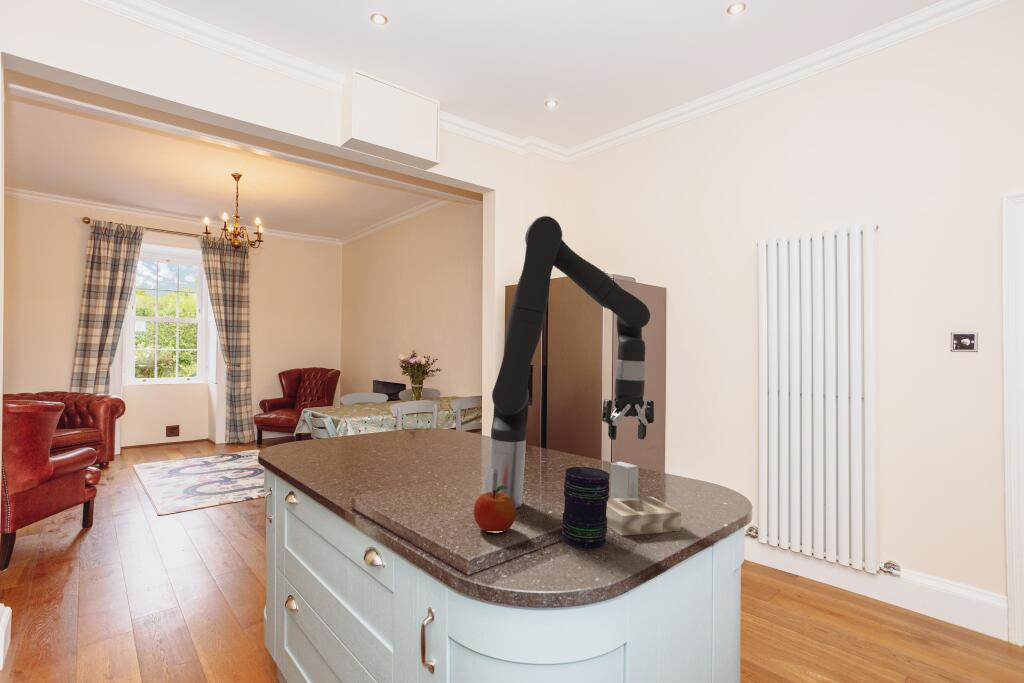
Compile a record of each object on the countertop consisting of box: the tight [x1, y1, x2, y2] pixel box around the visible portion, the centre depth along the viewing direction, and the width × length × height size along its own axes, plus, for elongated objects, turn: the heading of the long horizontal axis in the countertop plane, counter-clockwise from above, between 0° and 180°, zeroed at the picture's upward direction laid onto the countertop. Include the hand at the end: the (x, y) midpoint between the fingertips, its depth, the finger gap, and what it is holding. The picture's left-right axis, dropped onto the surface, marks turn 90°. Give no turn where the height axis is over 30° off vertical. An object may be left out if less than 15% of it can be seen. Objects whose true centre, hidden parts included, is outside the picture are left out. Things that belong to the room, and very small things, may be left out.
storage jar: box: [561, 466, 611, 551], centre depth 111 cm, size 10×10×15 cm
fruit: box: [473, 485, 517, 532], centre depth 114 cm, size 10×10×10 cm
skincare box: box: [610, 461, 639, 499], centre depth 133 cm, size 6×4×12 cm
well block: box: [606, 496, 682, 536], centre depth 123 cm, size 16×12×4 cm
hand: (627, 439), depth 133 cm, fingers open, 8 cm apart
